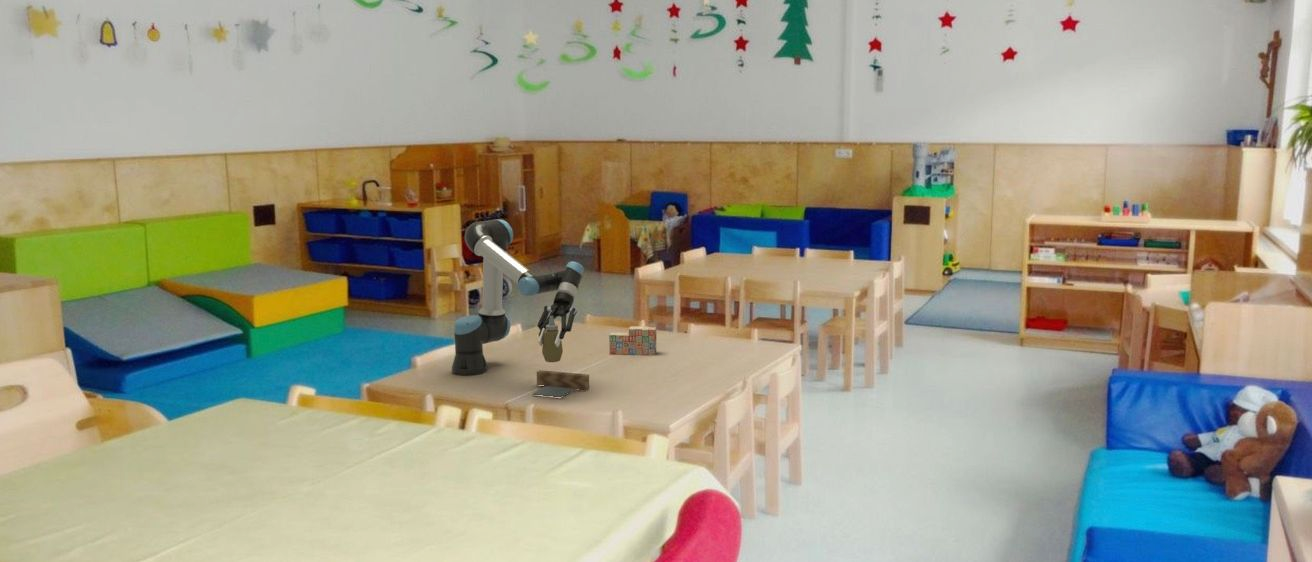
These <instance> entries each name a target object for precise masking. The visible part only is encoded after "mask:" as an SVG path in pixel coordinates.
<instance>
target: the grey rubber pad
mask: <svg viewBox="0 0 1312 562" xmlns="http://www.w3.org/2000/svg"><path fill="white" fill-rule="evenodd" d="M572 390H573V388H564V387H553V386H545V387H542V388H540V389H538V390H536V391H535V392H533V393H532V396H533V395H543V396H553V397H562V396H564V395H566V394H567V393H569V392H571V391H572ZM573 391H574V390H573ZM573 391H572V392H573ZM572 392H571V393H572ZM569 394H570V393H569ZM567 395H568V394H567ZM567 395H566V396H567ZM564 397H565V396H564ZM562 398H563V397H562Z"/></svg>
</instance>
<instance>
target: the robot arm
mask: <svg viewBox="0 0 1312 562" xmlns="http://www.w3.org/2000/svg"><path fill="white" fill-rule="evenodd" d="M513 231H514V230H513V229H512V227H511V225H510V224H509V222H508V221H505V220H503V219H495V218H494V219H489V220H483V221H475V222H473V223H471V224H470V225H469V226H467V228H466V230H465V233H464V241H465V244H466V246H467V247H468V249H469V250H470V251H471V252H472V253H474V254H475V256H478V257H483V260H482V261H483V262H482V265H483V266H482V268H483V270H482V273H483V274H482V302H481V303H482V304H481V306H482V307H481V308H480V309H479V310H478V315H475V314H473V315H472V314H471V315H464V316H461V317H459V318H458V319H456V320H455V322H454V328H453V332H454V346H455V347H454V348H455V349H454V351H455V352H454V353H455V355H454V357H453V362H452V365H451V372H453V374H454V373H455V374H454V375H458V374H460V375H459V376H474V375H480V374H483V373H486V372H487V371H488V363H487V360H486V358H485V355H484V351H483V345H484V344H490V343H494V342H499V341H501V340H502V339H505V338H506V337H507V336H508V335H509V333H510V331H511V321H510V319H509V316H508V315H507V314H506V311H505V309H504V308H503V291H504V290H503V288H504V285H503V284H504V282H503V281H504V275H506V277H508V278H509V279H510V280H511V281H513V282H514V283H515V284H517V289H518V290H519V293H520V294H521V295H522V296H524V297H529V296H535V295H539V294H540V295H541V294H544V293H550V292H555V291H556V294H555V296H554V299H553V304H551V306H547V305H545V306H544V307H543V312H542V314H541V317H540V318H539V320H538V323H537V327H538V329H539V333H538V337H539V338H538V340H537V343H538V345H539V346H540V347H541V346H542V347H543V334H544V331H545V330H546V325H548V324H549V319H550V316H553V318H554V320H555V319H557V318H559V317H561V321H560V324H561V326H560V327H561V328H559V329H558V330H559V332H558V335H557V337H556V340H555V345H556V347H559V344H560V341H562V340H563V339H564V338H565V335H566V333H567V332H568V333H570V332H572V328H573V323H574V321H575V320H574V319H575V317H576V314H577V313H578V312H577V309H576V308H575V307H573V304H574V302H575V301H574V300H575V297H576V294H577V292H578V289H579V286H580V284H581V281H582V278H583V275H584V269H585V268H584V266H583V265H582V264H581V263H579V262H577V261H569V262H568V263H567V264H566V266H565V268H564V269H561V270H556V271H552V272H549V273H548V272H547V273H542V274H537V275H536V274H535V273H534V272H532V271H531V270H529V269H528V268H527V267H526V266H524V265H523V264H522V263H521V262H520V261H518V260H517V259H516V258H514V257H513V256H512V255H511V254H510V253H508V246H510V244H511V243H512V242H513V239H514V232H513ZM567 314H568V319H567Z"/></svg>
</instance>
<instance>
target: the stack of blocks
mask: <svg viewBox="0 0 1312 562" xmlns="http://www.w3.org/2000/svg"><path fill="white" fill-rule="evenodd" d="M608 336H609V355H622V356H623V355H624V356H627V355H628V356H631V355H632V356H656V354H657V327H656V326H634V325H633V326H630V327H629V328H628V332H617V331H616V332H612V331H611V332H610V334H609V335H608ZM655 353H656V354H655Z"/></svg>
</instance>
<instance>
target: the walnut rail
mask: <svg viewBox="0 0 1312 562" xmlns="http://www.w3.org/2000/svg"><path fill="white" fill-rule="evenodd" d="M537 385H544V386H553V387H564V388H573V389H579V390H578V391H580V390H587V391H589V390H590V374H588V373H587V374H586V373H576V372H575V373H574V372H564V371H553V370H542V369H540V370H537V371H536V386H537ZM588 389H589V390H588Z"/></svg>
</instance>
